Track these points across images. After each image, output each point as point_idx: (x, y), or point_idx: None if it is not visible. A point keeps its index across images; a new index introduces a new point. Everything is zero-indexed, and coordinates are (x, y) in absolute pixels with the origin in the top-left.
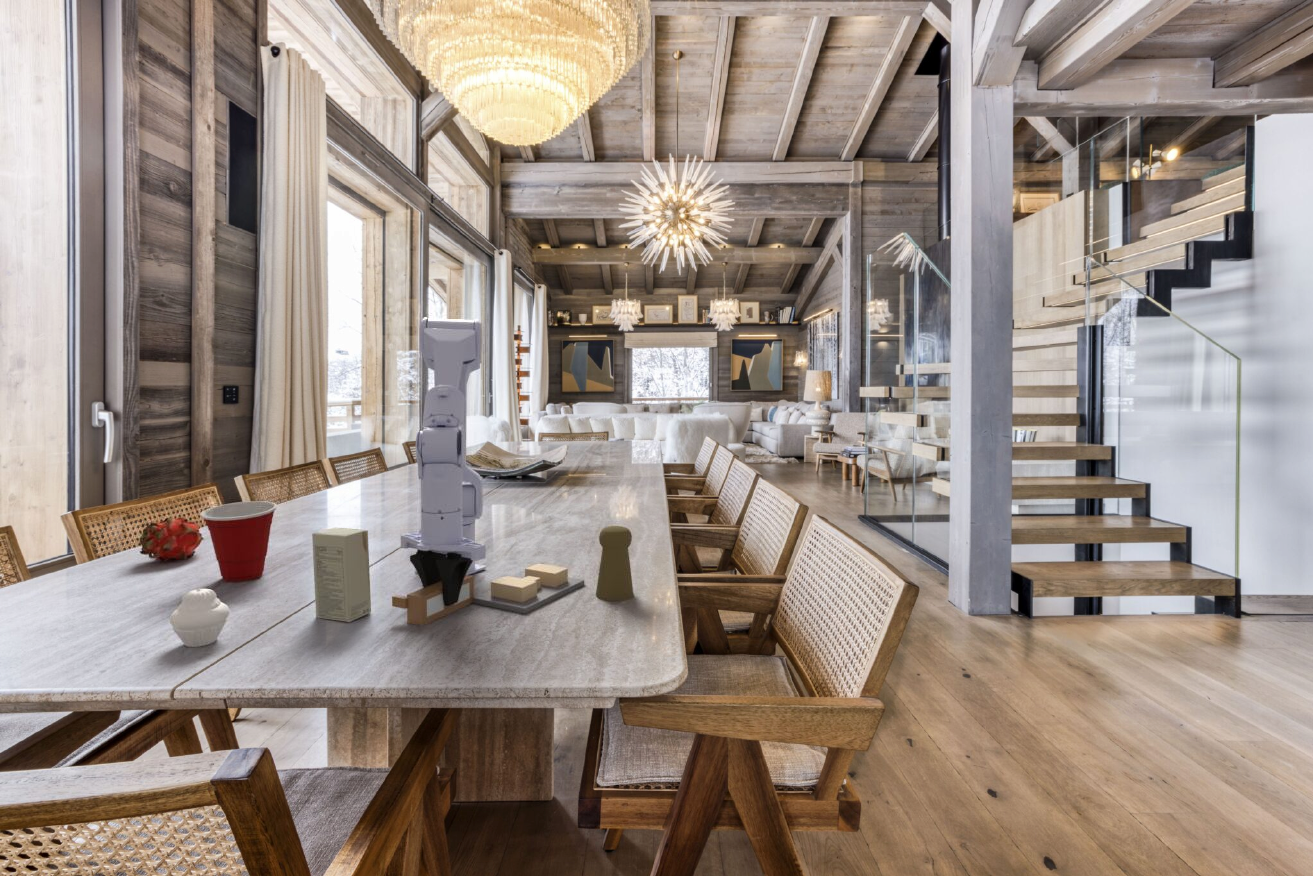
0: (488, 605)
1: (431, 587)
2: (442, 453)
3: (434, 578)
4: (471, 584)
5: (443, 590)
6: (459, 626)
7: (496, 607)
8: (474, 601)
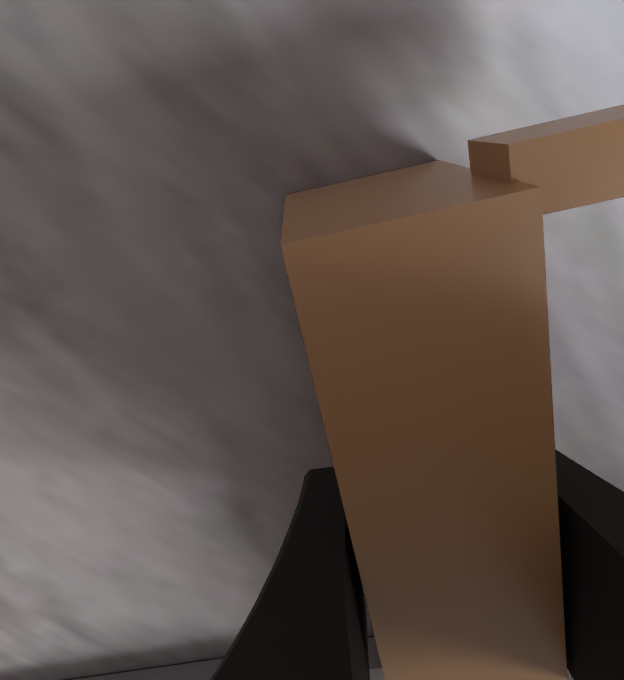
0: None
1: (495, 517)
2: None
3: (610, 651)
4: None
5: (332, 545)
6: (61, 359)
7: (191, 665)
8: None
